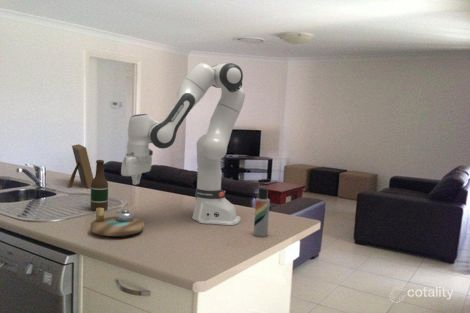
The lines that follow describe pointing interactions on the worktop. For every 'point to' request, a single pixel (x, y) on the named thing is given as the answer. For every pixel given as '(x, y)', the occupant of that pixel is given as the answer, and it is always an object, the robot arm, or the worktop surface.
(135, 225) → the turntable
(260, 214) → the lotion bottle
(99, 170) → the beer bottle
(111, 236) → the turntable base
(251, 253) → the worktop surface
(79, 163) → the photo frame
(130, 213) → the cover
